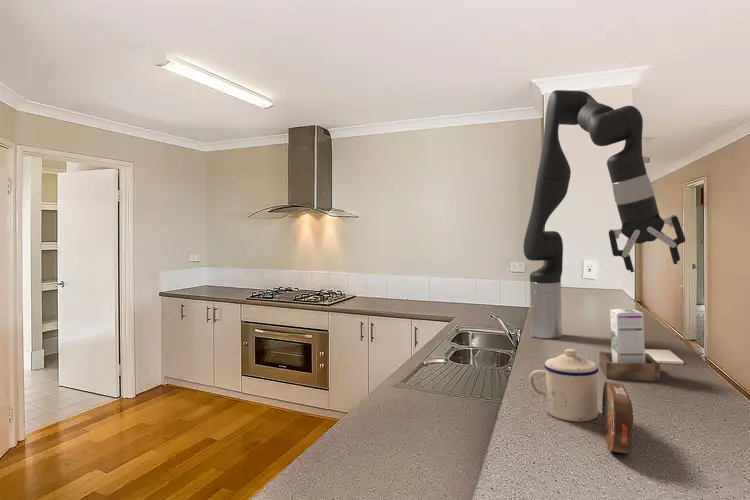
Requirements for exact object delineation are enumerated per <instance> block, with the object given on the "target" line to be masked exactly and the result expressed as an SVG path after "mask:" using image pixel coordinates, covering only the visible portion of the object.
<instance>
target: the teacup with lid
mask: <svg viewBox="0 0 750 500" xmlns="http://www.w3.org/2000/svg"><path fill="white" fill-rule="evenodd" d="M543 367H544V369H545V370H544V369H535V370H533V371H532V372H531V373H530V374H529V375H528V385H529V388H530V389H531V391H532V392H533V393H534V394H535V395H537V396H538V397H540V398H545V399H546V412H548V414H550V415H551V416H552V417H553V418H557V419H559V420H562V421H568V422H576V423H577V422H578V423H579V422H590V421H593V420H595V419H597V417H598V414H599V412H598V411H599V410H598V409H599V408H598V405H599V403H598V402H599V401H598V398H599V397H598V372H599V367H598V365H597V363H595V362H593V361H592V360H589V359H587V358H584V357H583V356H581V355H579V354H577V350H576V349H573V348H566V349H565V350H564V353H563V354H560V355H557V356H556V357H552V358H548V359H547V360H546V361H545V362H544V366H543ZM537 375H543V376H545V392H543V391H540V390H539V389H537V387H536V386H535V384H534V376H537Z"/></svg>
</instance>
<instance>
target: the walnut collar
mask: <svg viewBox="0 0 750 500" xmlns="http://www.w3.org/2000/svg"><path fill="white" fill-rule="evenodd" d="M598 357H599V358H598V360H599V361H598V362H599V368H600V369H601V371H602V373H603V374H604V376H605V378H606V379H611V380H612V379H613V380H626V381H627V380H630V381H631V380H632V381H647V382H650V381H651V382H661V365H660V363H657V362H656V361H655V360H654V359H653V358H652V357H651V356H650V355H649V354H648V353H645V363H624V362H612V351H603V350H602V351H599V353H598Z"/></svg>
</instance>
